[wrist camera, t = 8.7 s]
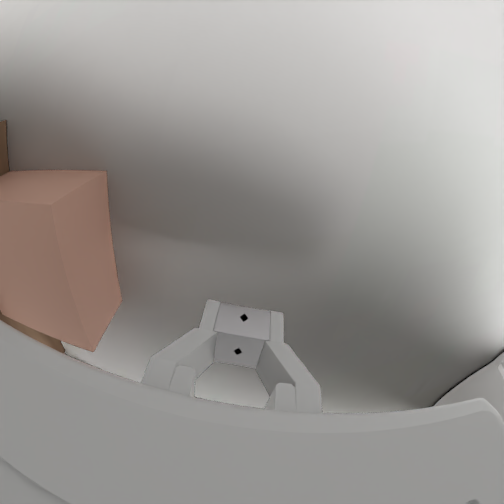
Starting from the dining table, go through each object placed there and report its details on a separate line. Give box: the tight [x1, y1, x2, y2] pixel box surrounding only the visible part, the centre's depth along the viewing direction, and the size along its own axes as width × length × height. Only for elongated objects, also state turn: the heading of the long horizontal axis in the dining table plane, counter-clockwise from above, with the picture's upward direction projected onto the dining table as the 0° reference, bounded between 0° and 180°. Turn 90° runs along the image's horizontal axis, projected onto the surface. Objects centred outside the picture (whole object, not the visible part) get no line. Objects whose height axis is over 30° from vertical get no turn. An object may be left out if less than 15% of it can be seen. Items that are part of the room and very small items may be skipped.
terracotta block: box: [0, 170, 122, 352], centre depth 13 cm, size 9×9×5 cm
